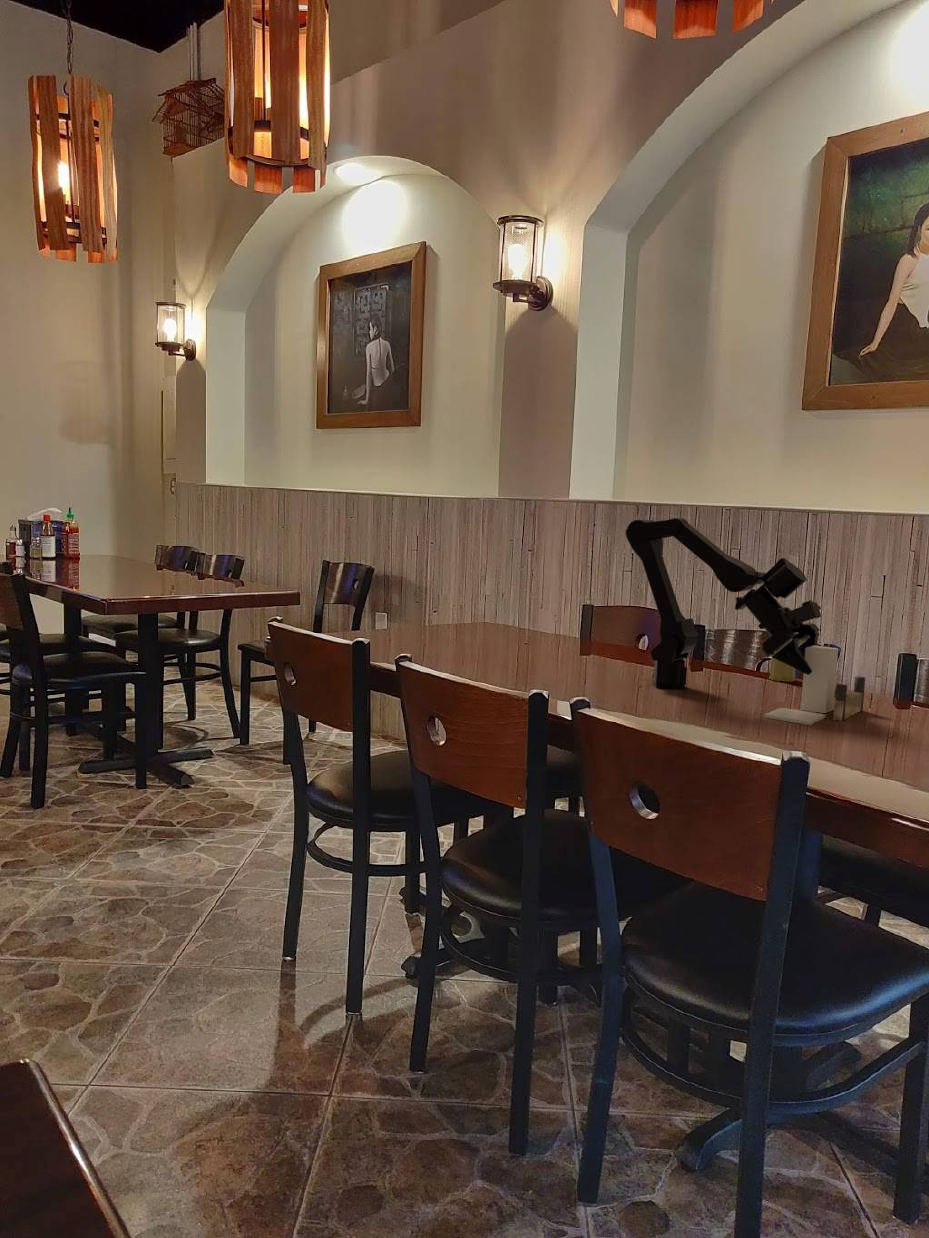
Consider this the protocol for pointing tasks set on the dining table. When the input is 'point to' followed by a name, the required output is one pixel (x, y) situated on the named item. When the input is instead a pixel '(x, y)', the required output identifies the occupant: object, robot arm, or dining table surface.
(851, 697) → the rack
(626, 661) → the dining table surface
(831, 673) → the beige tall rectangular block
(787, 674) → the vase
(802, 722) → the coaster
